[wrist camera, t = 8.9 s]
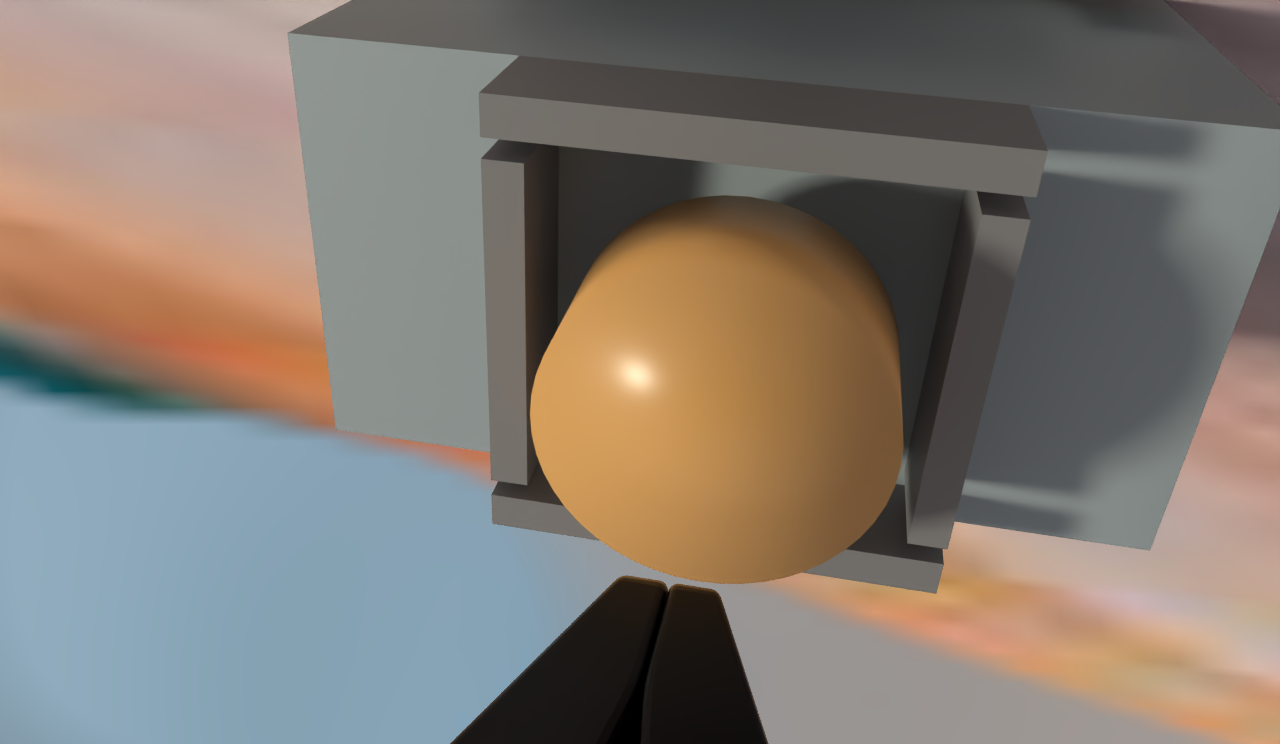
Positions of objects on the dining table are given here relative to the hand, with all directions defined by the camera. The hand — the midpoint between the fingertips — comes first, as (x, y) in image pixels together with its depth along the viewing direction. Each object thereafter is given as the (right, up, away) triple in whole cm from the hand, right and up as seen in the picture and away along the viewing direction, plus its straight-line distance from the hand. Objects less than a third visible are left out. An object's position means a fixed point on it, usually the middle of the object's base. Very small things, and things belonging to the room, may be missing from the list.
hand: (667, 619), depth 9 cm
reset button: (+1, +2, +4) cm, 5 cm away
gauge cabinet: (+2, +6, +11) cm, 13 cm away
